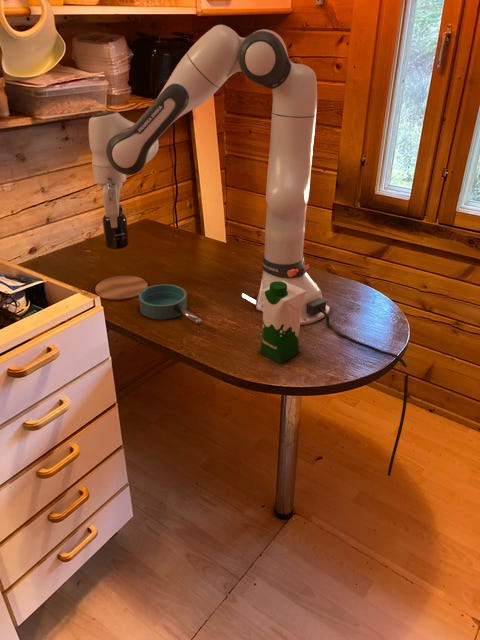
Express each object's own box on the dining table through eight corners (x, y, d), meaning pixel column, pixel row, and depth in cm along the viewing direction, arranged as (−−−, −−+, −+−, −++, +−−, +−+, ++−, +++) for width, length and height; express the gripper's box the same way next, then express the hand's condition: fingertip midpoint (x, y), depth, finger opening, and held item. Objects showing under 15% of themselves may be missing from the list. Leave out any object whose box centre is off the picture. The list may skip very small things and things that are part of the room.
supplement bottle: (120, 251, 148) (116, 211, 142) (100, 247, 150) (95, 207, 144) (133, 243, 153) (129, 204, 147) (114, 239, 155) (109, 201, 149)
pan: (196, 310, 148) (195, 296, 146) (156, 325, 140) (155, 311, 138) (170, 293, 157) (169, 280, 155) (131, 306, 149) (129, 293, 147)
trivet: (157, 289, 159) (157, 288, 158) (111, 305, 150) (110, 303, 149) (131, 272, 169) (131, 271, 169) (86, 286, 160) (86, 284, 160)
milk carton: (254, 352, 130) (257, 281, 120) (278, 339, 135) (283, 270, 125) (280, 367, 124) (285, 294, 114) (304, 353, 130) (311, 282, 120)
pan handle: (203, 325, 137) (203, 319, 136) (197, 328, 135) (197, 321, 134) (177, 308, 144) (177, 302, 143) (172, 310, 143) (171, 304, 142)
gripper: (120, 184, 133) (125, 234, 140) (121, 164, 150) (125, 210, 157) (95, 184, 132) (102, 235, 139) (99, 165, 149) (104, 211, 156)
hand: (114, 222), depth 148 cm, fingers closed on supplement bottle, 7 cm apart
